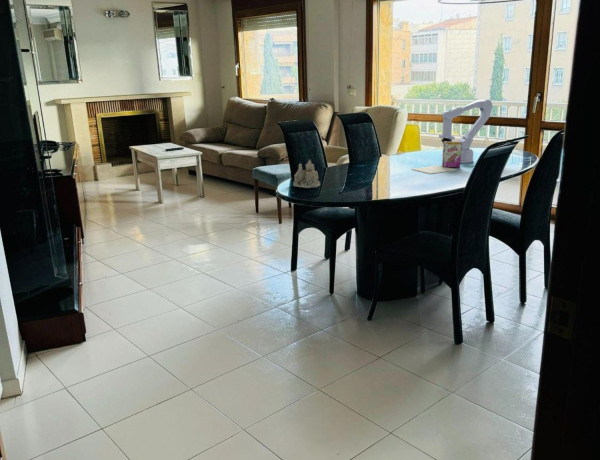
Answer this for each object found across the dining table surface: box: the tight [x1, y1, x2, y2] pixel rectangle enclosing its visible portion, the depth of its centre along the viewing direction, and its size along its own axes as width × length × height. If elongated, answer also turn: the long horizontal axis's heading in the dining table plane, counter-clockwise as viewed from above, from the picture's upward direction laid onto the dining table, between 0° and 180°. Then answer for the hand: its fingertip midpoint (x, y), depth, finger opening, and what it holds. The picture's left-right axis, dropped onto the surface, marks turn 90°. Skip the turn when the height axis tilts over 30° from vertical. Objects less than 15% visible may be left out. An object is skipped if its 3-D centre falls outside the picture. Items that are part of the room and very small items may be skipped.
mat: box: [411, 164, 457, 175], centre depth 351 cm, size 20×20×1 cm
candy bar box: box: [441, 140, 462, 168], centre depth 353 cm, size 11×5×16 cm, turn 84°
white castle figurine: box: [292, 159, 321, 189], centre depth 326 cm, size 16×16×15 cm
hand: (446, 149), depth 368 cm, fingers closed
